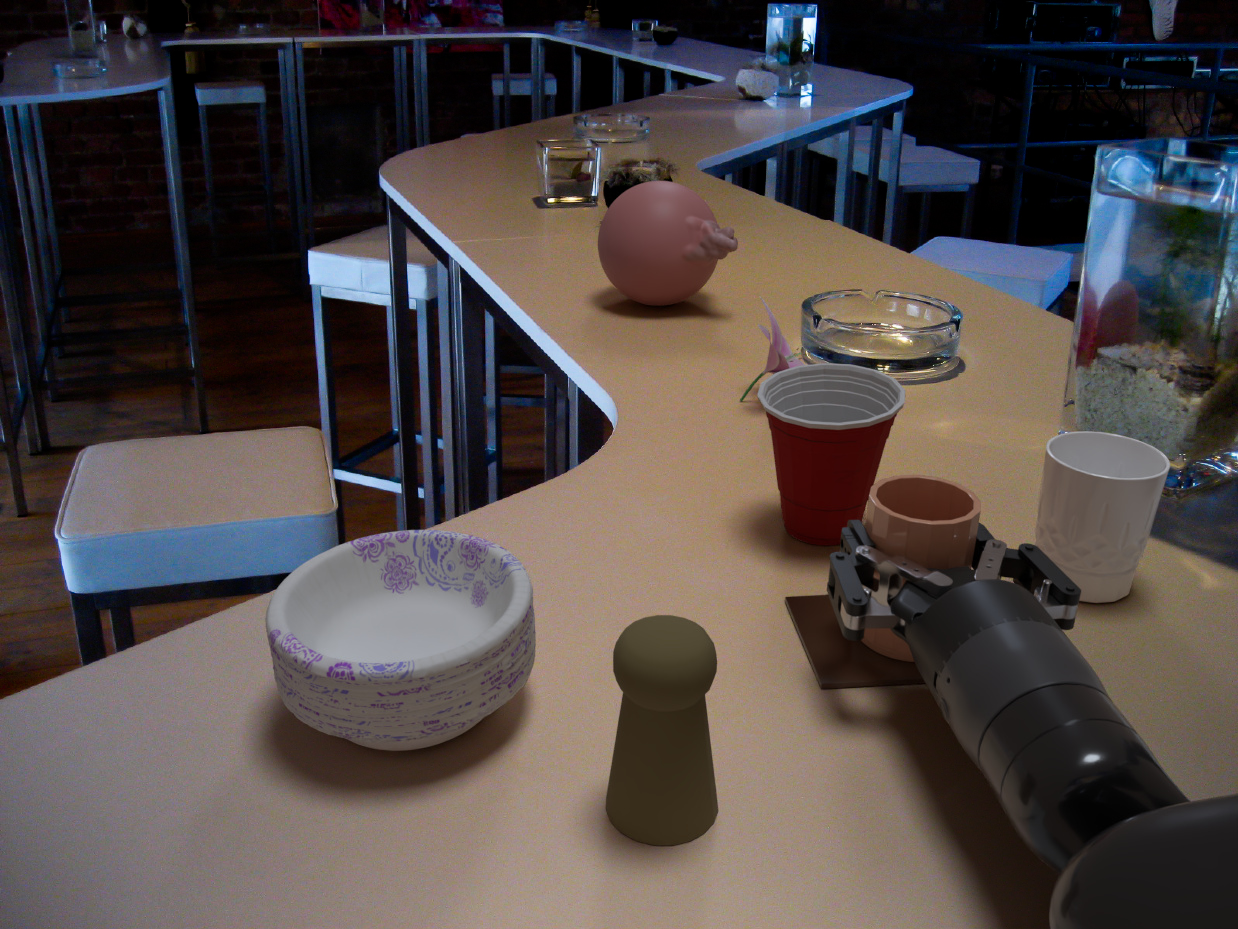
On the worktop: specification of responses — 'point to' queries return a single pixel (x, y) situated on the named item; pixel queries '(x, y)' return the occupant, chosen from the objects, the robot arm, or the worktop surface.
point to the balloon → (661, 243)
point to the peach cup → (919, 534)
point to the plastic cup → (828, 442)
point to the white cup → (1098, 508)
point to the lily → (776, 351)
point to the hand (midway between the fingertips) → (906, 530)
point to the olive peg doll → (663, 732)
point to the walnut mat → (843, 649)
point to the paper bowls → (402, 637)
